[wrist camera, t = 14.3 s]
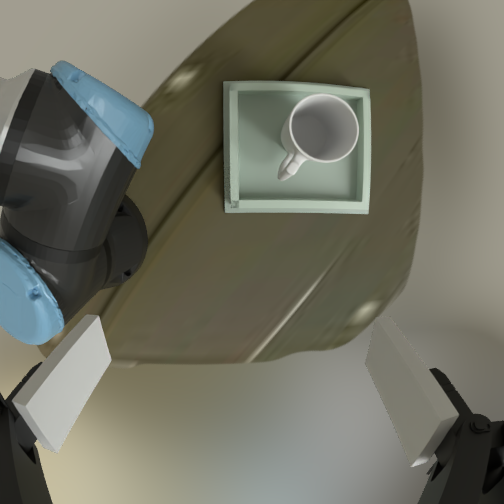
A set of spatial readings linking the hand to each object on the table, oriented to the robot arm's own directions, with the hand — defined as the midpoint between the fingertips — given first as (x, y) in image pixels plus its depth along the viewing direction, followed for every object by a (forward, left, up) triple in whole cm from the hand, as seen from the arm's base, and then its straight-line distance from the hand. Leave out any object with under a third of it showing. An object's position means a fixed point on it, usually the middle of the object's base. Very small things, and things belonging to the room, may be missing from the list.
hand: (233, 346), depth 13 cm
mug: (+7, +10, -28) cm, 31 cm away
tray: (+7, +10, -29) cm, 31 cm away
